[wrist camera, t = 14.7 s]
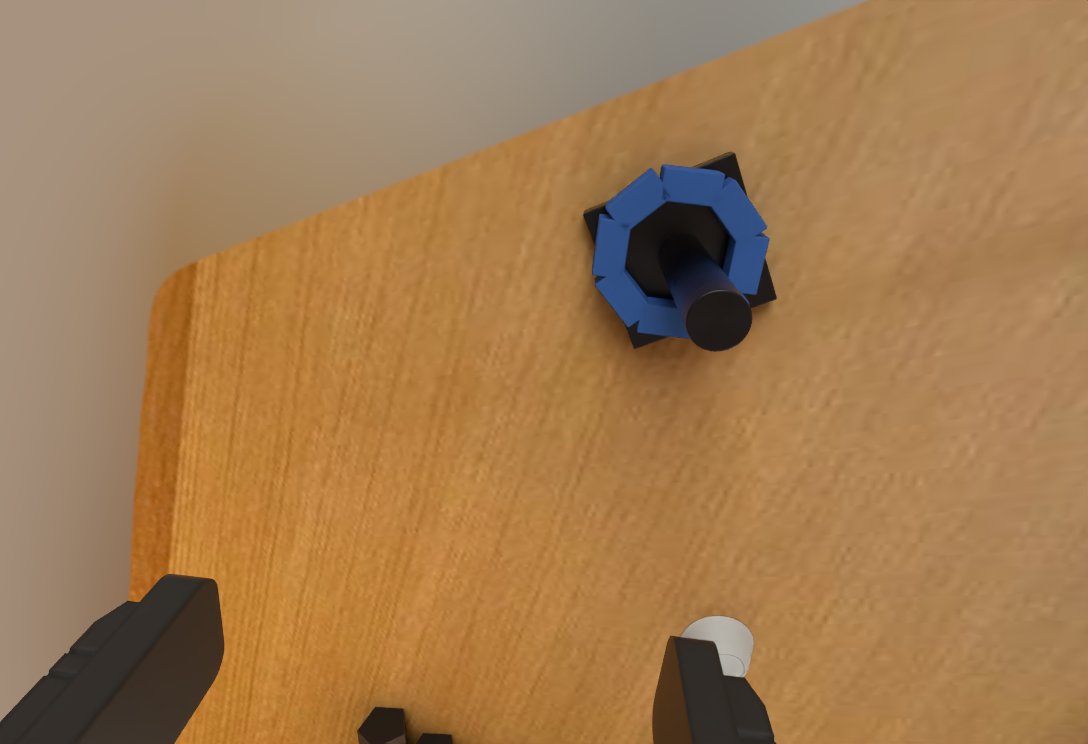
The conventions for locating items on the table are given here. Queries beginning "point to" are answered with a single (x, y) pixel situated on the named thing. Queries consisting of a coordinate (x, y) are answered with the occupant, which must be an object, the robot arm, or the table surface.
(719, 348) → the black peg stand
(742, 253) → the ring
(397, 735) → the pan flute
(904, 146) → the table surface
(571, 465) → the table surface
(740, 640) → the chalice
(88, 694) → the robot arm
